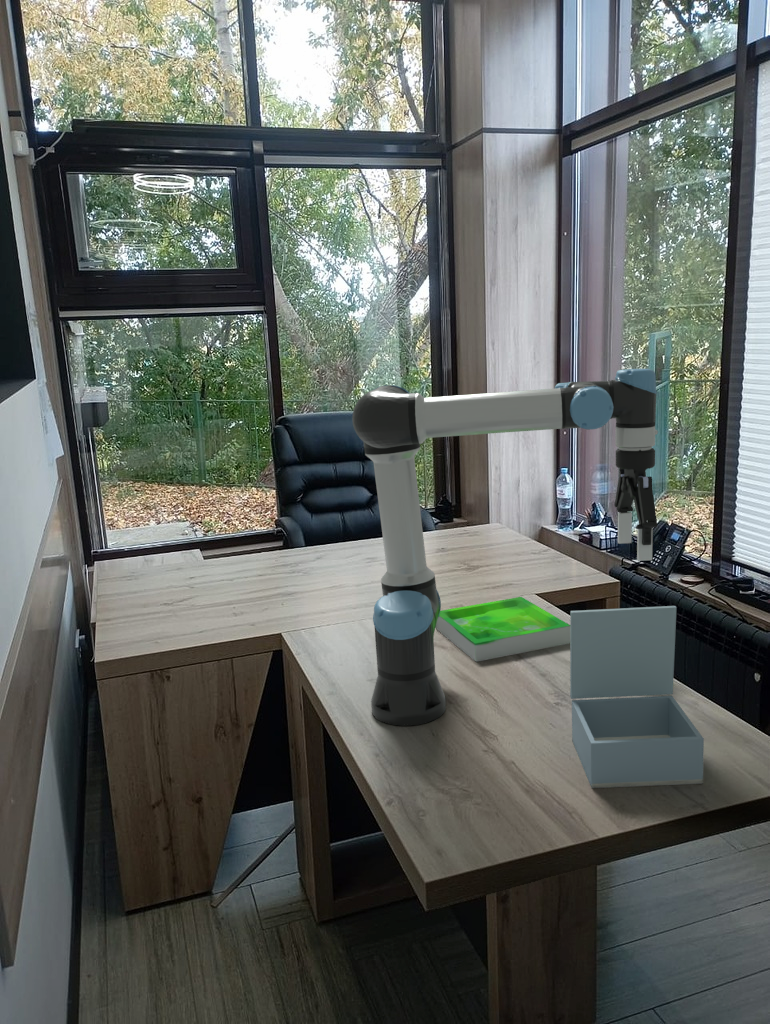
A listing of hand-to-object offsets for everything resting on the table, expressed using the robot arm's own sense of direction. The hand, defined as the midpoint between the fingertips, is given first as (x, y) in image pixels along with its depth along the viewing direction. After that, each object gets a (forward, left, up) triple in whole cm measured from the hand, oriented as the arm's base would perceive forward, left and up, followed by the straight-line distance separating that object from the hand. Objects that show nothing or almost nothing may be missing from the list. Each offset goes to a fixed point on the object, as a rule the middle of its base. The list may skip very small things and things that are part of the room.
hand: (634, 551), depth 165 cm
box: (-9, -32, -29) cm, 44 cm away
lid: (-9, -25, -12) cm, 29 cm away
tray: (-25, +31, -29) cm, 49 cm away
